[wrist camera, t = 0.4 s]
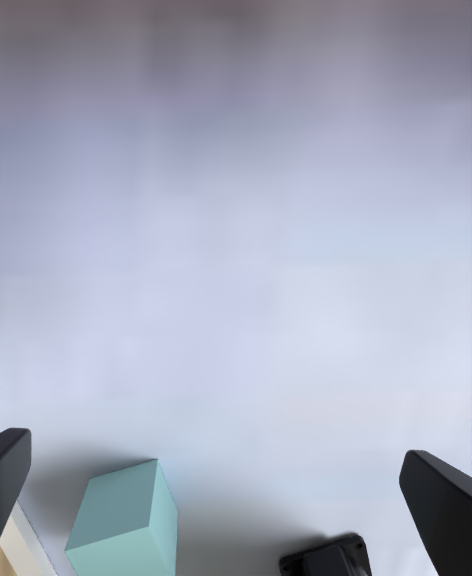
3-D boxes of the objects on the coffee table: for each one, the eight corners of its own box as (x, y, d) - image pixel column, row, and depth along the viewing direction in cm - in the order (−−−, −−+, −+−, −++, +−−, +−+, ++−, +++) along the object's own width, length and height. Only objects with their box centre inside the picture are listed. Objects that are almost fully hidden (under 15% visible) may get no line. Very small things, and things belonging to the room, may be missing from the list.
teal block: (178, 510, 25) (174, 586, 21) (114, 529, 25) (95, 610, 20) (157, 458, 24) (148, 526, 19) (90, 478, 24) (64, 551, 19)
